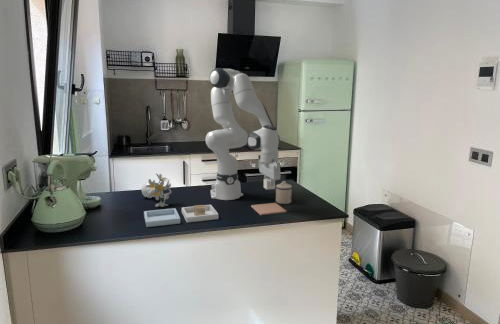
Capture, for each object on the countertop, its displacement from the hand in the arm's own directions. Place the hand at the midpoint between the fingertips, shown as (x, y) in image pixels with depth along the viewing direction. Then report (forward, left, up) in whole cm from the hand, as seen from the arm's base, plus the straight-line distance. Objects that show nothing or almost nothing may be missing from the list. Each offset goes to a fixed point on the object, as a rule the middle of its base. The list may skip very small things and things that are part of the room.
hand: (269, 184), depth 188 cm
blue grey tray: (-1, -54, -13) cm, 56 cm away
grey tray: (-1, -36, -13) cm, 38 cm away
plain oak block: (-1, -36, -13) cm, 38 cm away
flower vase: (-31, -54, -14) cm, 64 cm away
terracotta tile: (0, 0, -13) cm, 13 cm away
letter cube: (0, 0, -2) cm, 2 cm away
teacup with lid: (-11, +13, -14) cm, 22 cm away
